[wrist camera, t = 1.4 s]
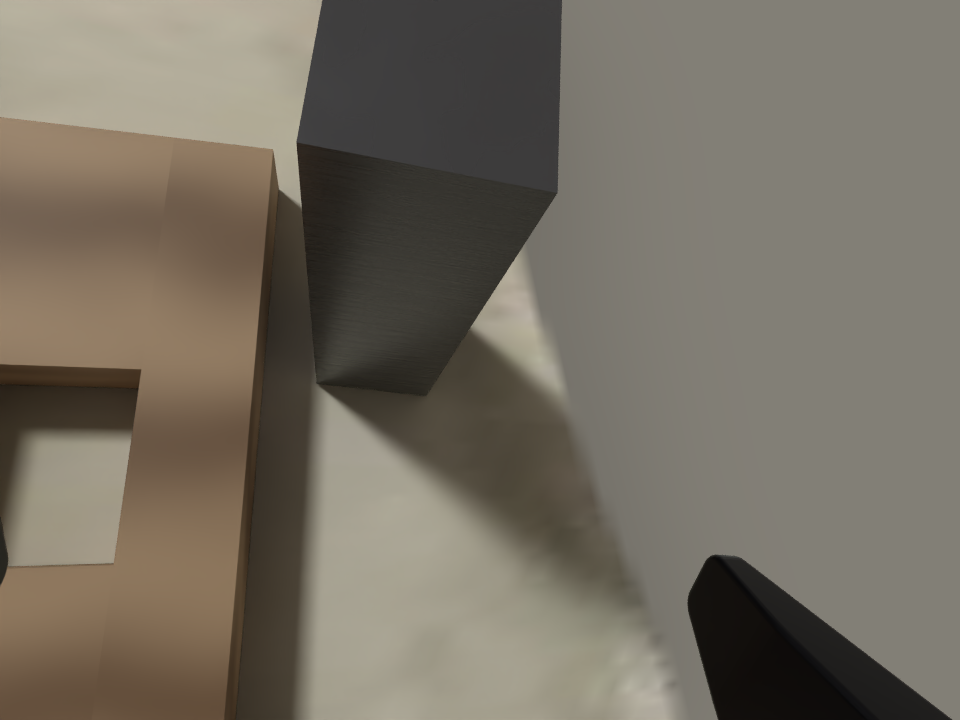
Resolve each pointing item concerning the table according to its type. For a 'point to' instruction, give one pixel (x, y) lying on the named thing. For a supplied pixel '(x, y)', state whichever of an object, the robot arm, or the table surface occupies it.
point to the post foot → (139, 408)
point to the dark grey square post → (421, 175)
